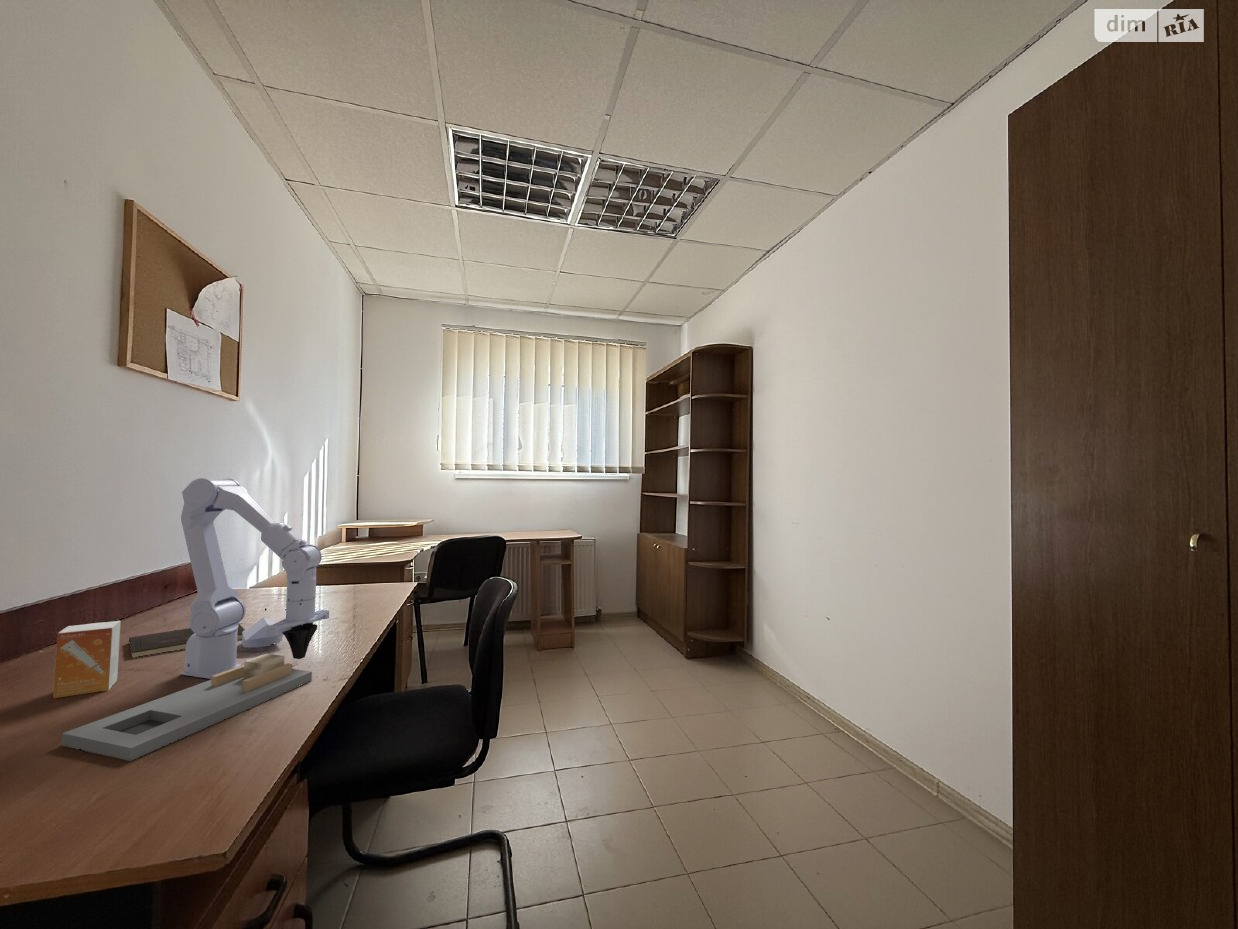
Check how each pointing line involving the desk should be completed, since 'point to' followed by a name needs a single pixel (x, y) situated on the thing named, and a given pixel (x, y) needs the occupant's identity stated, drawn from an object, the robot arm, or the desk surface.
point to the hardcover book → (164, 641)
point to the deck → (182, 712)
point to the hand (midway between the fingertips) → (299, 657)
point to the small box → (86, 658)
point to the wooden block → (262, 664)
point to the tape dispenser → (260, 635)
